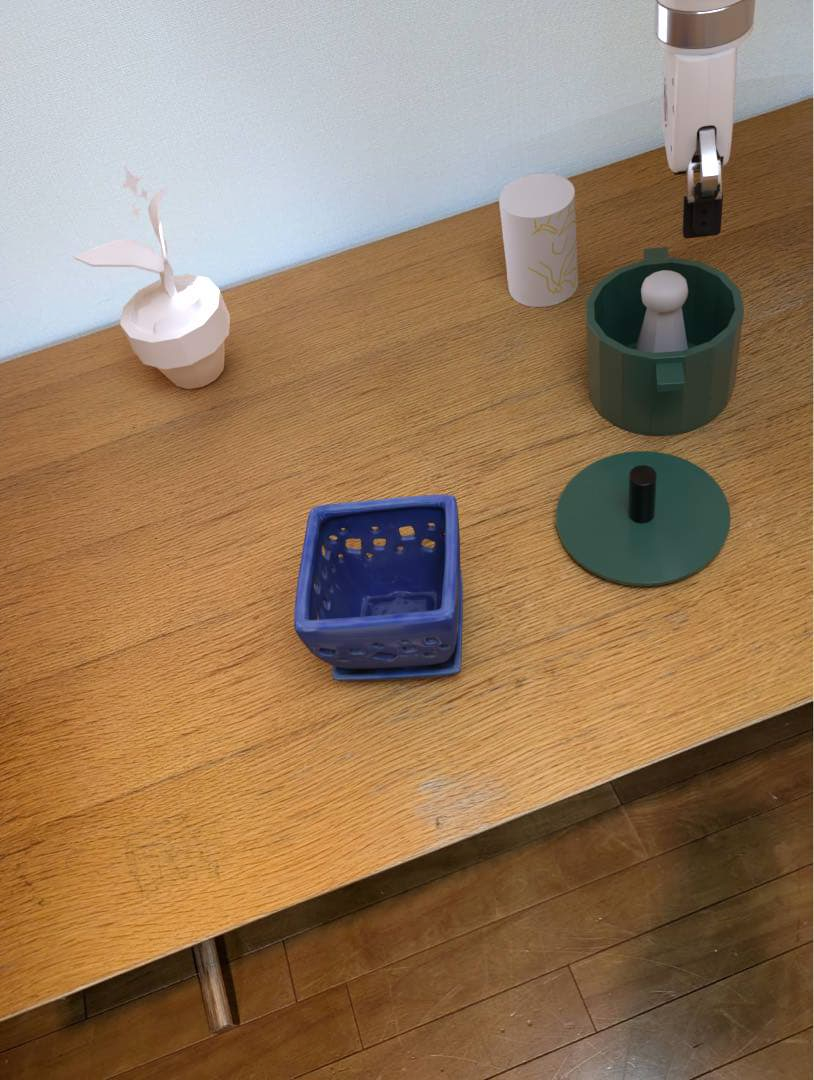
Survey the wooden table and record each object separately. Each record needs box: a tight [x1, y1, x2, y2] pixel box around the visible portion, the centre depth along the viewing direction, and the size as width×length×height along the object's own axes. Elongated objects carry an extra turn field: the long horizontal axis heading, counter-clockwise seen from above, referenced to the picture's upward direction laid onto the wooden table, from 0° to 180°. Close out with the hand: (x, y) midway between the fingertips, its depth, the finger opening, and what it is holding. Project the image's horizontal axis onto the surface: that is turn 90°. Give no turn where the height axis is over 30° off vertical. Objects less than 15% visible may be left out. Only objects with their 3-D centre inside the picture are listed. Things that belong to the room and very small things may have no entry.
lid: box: [555, 450, 731, 587], centre depth 91 cm, size 16×16×7 cm
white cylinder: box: [498, 172, 579, 308], centre depth 112 cm, size 8×8×12 cm
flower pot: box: [293, 494, 464, 682], centre depth 85 cm, size 13×13×12 cm
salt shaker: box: [636, 270, 688, 353], centre depth 98 cm, size 6×6×13 cm
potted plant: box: [73, 166, 231, 390], centre depth 107 cm, size 13×12×25 cm
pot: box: [585, 246, 745, 437], centre depth 99 cm, size 15×20×10 cm
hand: (695, 202), depth 91 cm, fingers open, 9 cm apart
